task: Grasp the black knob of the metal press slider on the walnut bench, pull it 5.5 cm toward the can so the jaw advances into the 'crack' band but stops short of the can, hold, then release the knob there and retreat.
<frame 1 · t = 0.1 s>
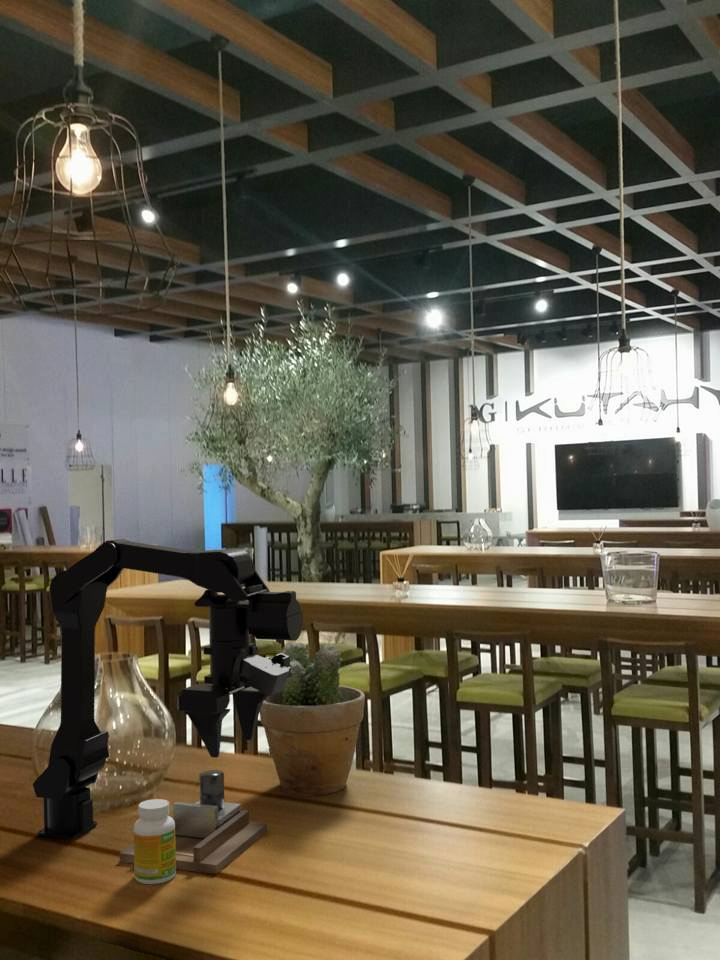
hand: (232, 748, 135), 14 cm above the table, fingers open, 9 cm apart
metal press slider: (207, 801, 140), point 5 cm above the table, slide at 0.0 cm
potted plant: (313, 786, 163), on the table
press bed: (196, 846, 137), on the table
supplement bottle: (155, 878, 126), on the table
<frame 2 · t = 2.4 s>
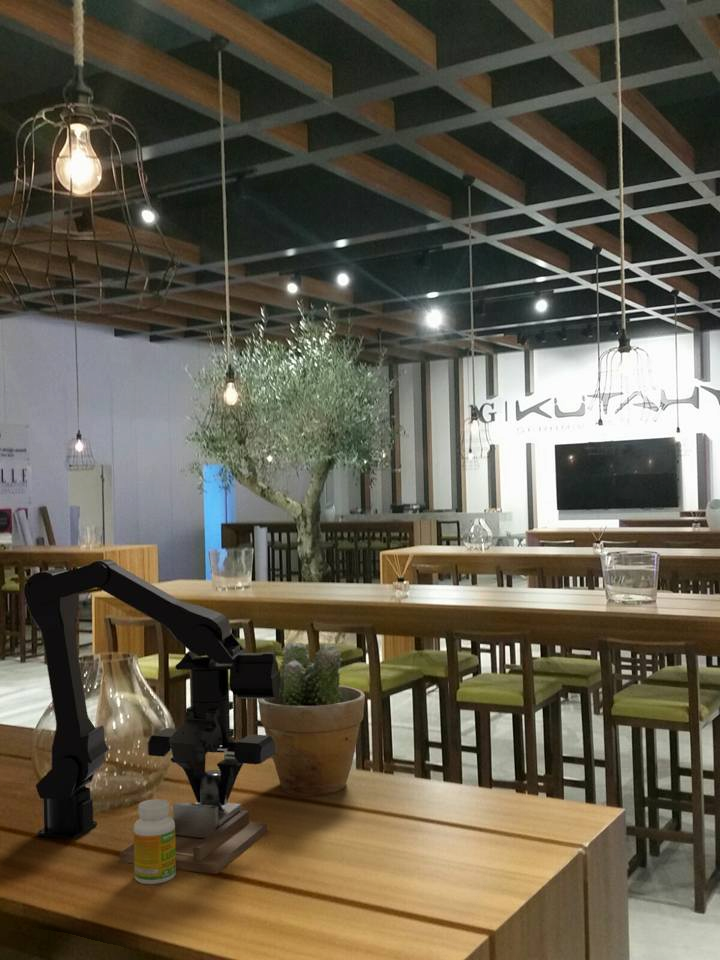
hand: (212, 803, 141), 5 cm above the table, fingers closed on metal press slider, 4 cm apart
metal press slider: (207, 801, 140), point 5 cm above the table, slide at 0.0 cm, touching gripper
everything else where it was.
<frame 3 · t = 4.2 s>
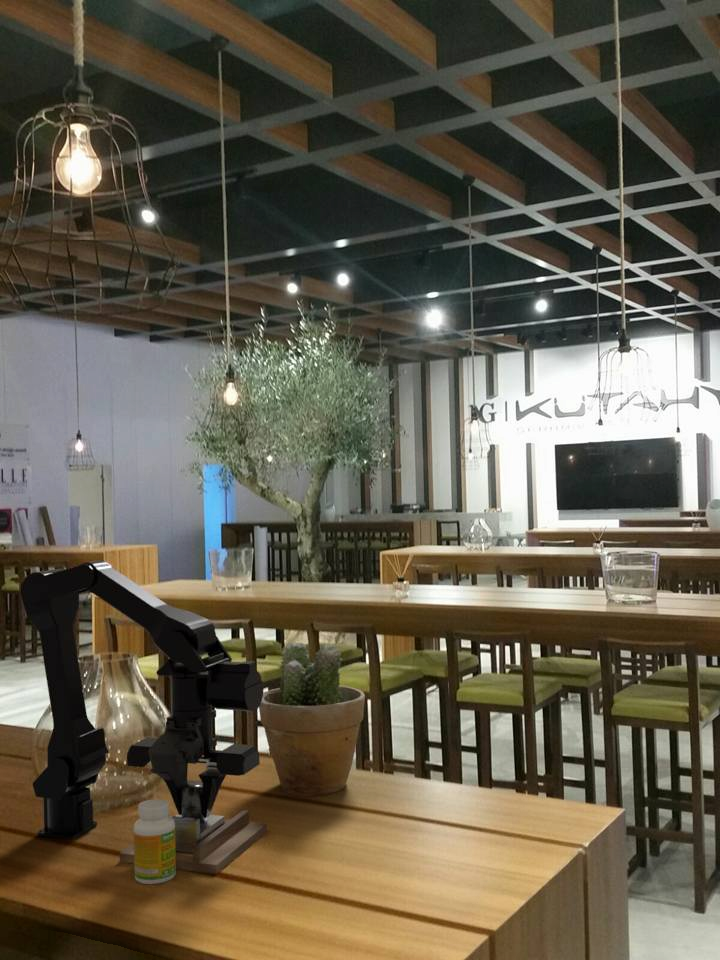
hand: (194, 815, 136), 5 cm above the table, fingers closed on metal press slider, 4 cm apart
metal press slider: (189, 814, 135), point 5 cm above the table, slide at 5.4 cm, touching gripper
everything else where it was.
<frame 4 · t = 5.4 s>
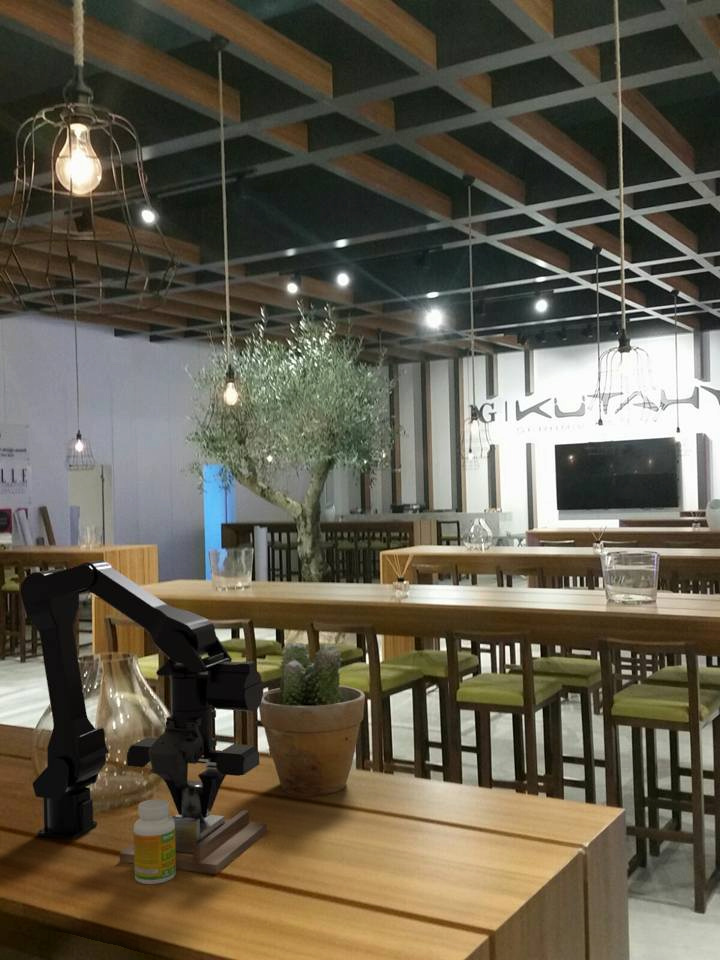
hand: (194, 815, 136), 5 cm above the table, fingers closed on metal press slider, 3 cm apart
metal press slider: (188, 814, 135), point 5 cm above the table, slide at 5.4 cm, touching gripper
everything else where it was.
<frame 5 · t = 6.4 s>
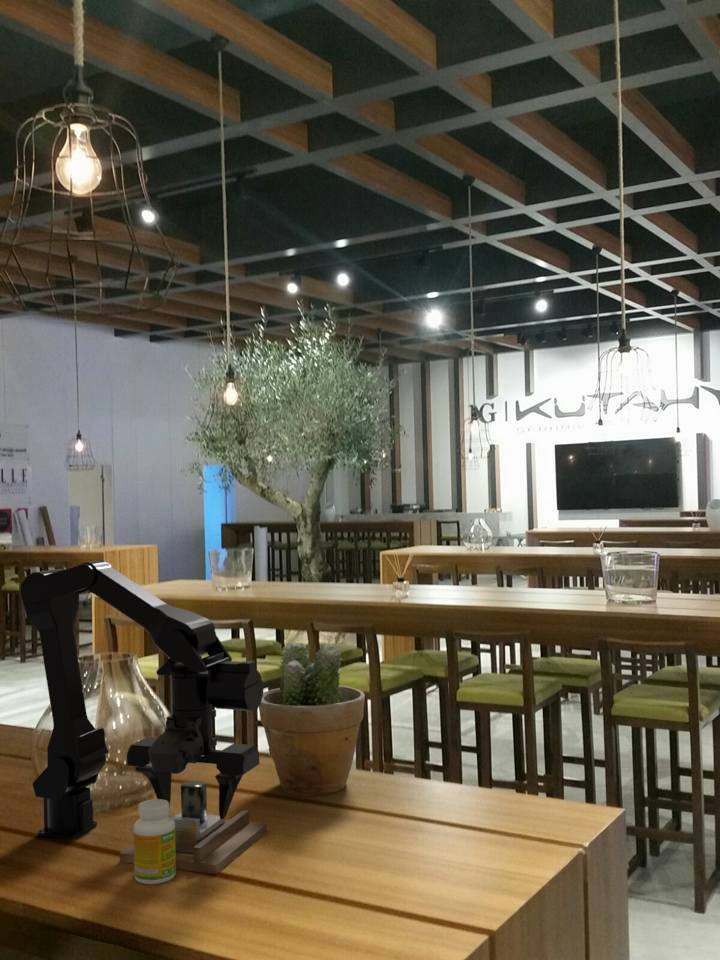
hand: (194, 815, 136), 5 cm above the table, fingers open, 9 cm apart
metal press slider: (188, 814, 135), point 5 cm above the table, slide at 5.4 cm
everything else where it was.
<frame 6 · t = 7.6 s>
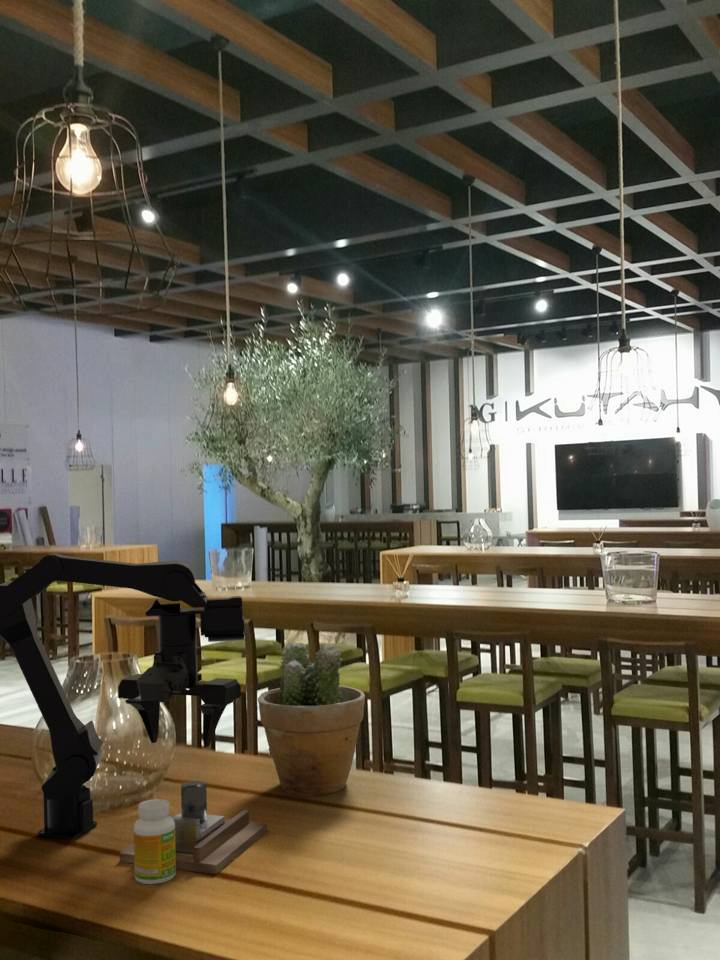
hand: (180, 744, 146), 12 cm above the table, fingers open, 9 cm apart
nothing on the table moved.
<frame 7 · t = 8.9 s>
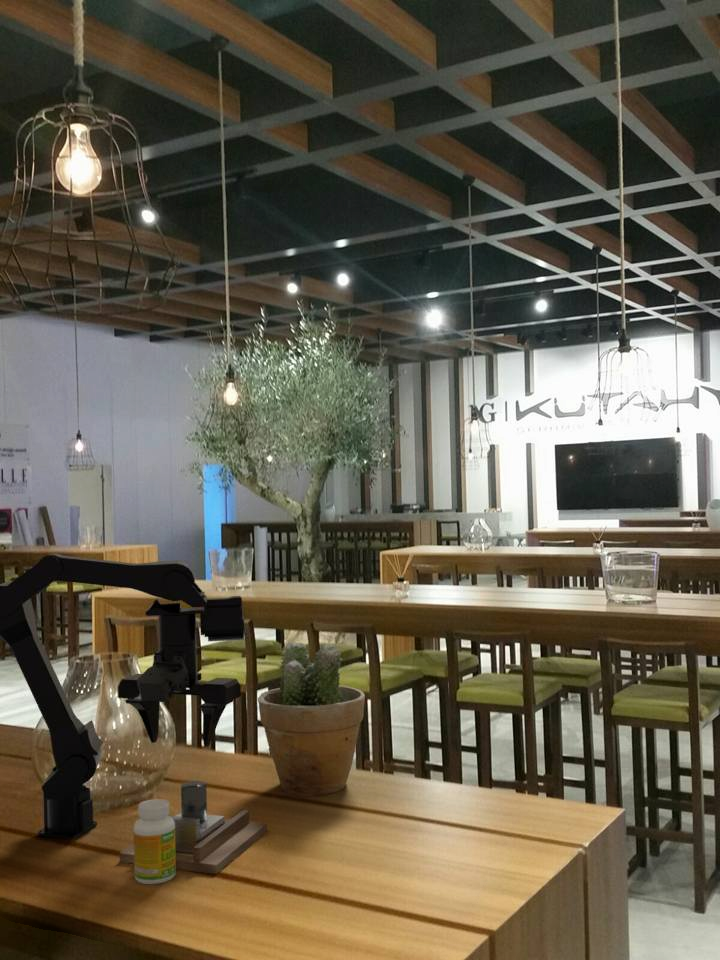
hand: (180, 744, 147), 12 cm above the table, fingers open, 9 cm apart
nothing on the table moved.
at the end: metal press slider slide at 5.4 cm; the gripper is holding nothing; supplement bottle tilted 0° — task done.
